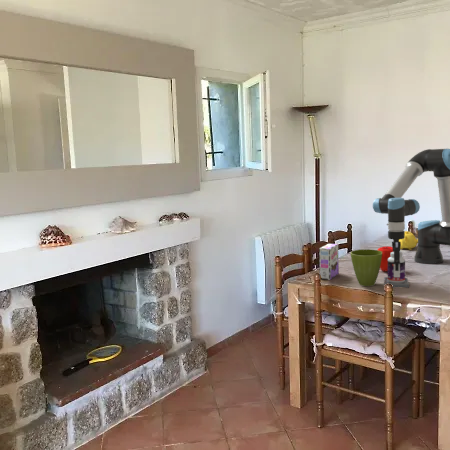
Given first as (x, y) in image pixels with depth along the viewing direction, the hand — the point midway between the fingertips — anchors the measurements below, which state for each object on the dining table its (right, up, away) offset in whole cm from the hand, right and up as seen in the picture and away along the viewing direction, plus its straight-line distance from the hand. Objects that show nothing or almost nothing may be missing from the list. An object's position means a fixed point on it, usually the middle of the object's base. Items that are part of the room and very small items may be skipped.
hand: (396, 273), depth 245 cm
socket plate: (0, -5, +1) cm, 5 cm away
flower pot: (-13, -6, +4) cm, 15 cm away
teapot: (+33, +8, +79) cm, 87 cm away
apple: (+4, -1, +27) cm, 27 cm away
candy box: (-28, -4, +21) cm, 35 cm away
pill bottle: (0, -4, +1) cm, 4 cm away
